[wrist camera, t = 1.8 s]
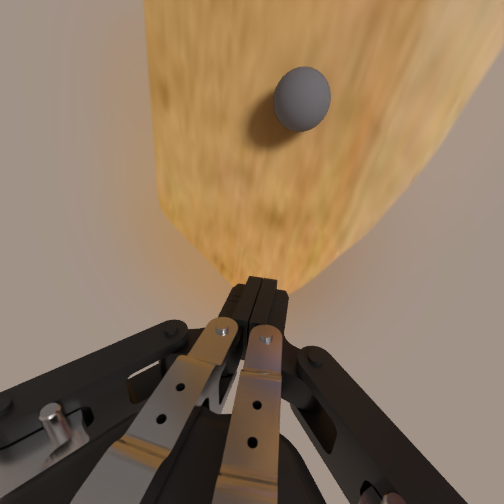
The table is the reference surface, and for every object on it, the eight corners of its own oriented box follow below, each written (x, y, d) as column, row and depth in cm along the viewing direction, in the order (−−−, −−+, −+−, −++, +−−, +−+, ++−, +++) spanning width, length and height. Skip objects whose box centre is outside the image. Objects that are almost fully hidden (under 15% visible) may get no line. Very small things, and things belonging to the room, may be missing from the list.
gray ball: (273, 79, 28) (264, 70, 23) (327, 65, 27) (330, 53, 22) (280, 135, 30) (274, 137, 25) (330, 125, 29) (334, 126, 24)
